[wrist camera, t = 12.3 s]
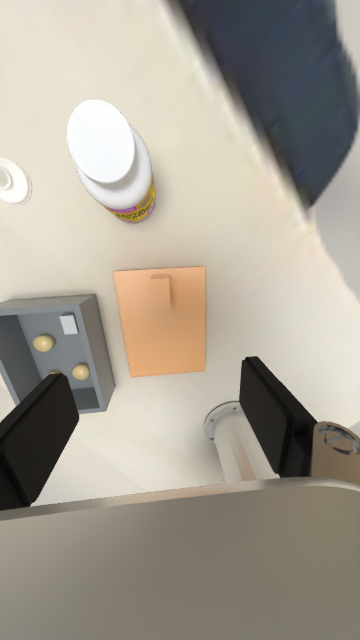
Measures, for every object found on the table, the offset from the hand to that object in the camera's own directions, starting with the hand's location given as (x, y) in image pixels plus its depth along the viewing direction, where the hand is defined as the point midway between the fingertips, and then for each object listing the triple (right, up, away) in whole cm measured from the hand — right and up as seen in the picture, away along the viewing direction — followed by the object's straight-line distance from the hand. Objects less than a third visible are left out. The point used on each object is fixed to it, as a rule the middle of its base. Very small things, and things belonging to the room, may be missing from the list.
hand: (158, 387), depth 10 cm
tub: (-18, -1, +22) cm, 29 cm away
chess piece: (-21, +21, +14) cm, 33 cm away
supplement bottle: (-5, +21, +15) cm, 26 cm away
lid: (-2, +3, +22) cm, 22 cm away
